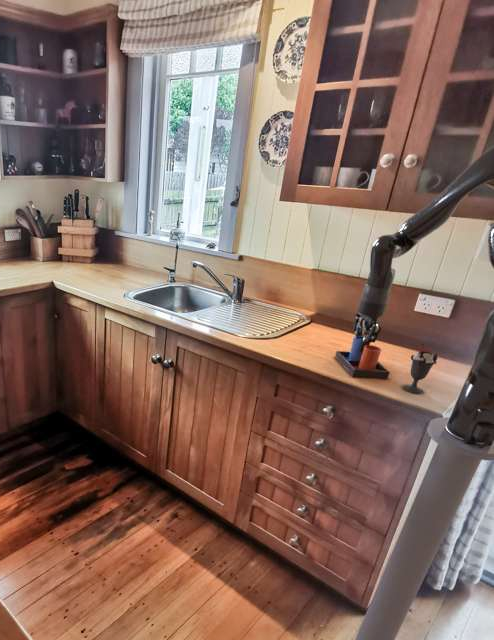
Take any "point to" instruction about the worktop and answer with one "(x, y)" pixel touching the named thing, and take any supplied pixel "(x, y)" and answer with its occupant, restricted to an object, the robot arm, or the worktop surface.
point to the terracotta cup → (369, 357)
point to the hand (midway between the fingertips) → (359, 348)
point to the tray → (353, 369)
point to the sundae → (420, 368)
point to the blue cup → (356, 348)
